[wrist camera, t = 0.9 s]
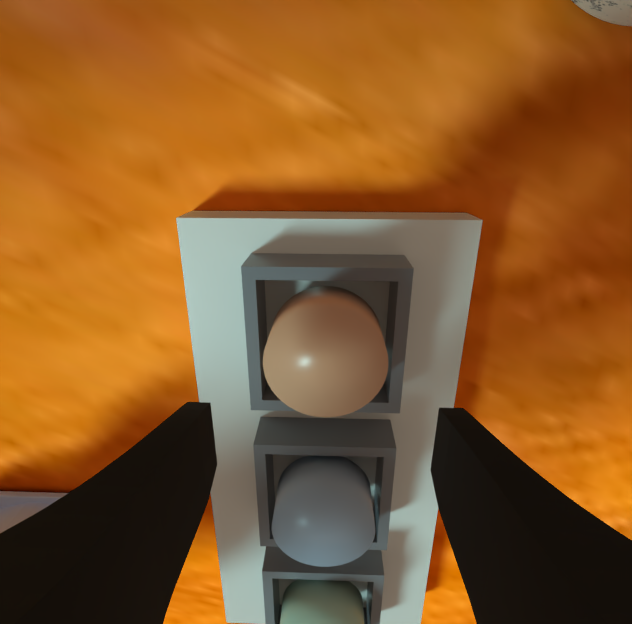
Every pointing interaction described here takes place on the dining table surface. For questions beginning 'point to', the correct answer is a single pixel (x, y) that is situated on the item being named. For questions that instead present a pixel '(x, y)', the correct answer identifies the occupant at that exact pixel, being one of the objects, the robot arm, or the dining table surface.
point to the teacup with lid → (608, 10)
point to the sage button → (322, 603)
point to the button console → (327, 432)
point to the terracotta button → (325, 353)
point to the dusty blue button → (323, 511)
